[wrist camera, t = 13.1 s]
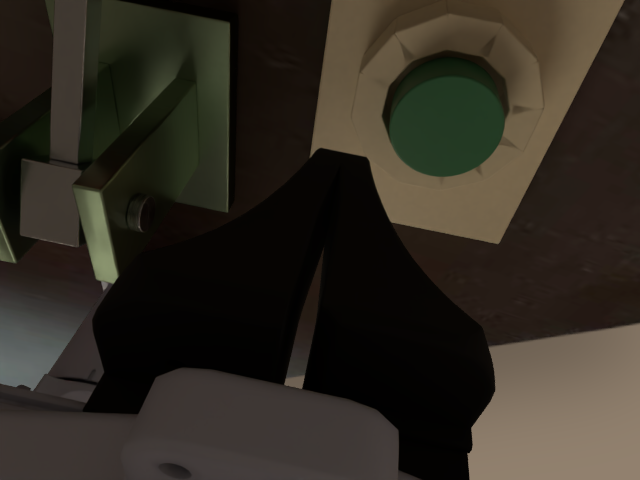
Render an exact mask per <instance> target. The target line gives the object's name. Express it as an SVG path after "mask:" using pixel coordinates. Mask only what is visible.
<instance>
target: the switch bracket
mask: <svg viewBox="0 0 640 480" xmlns="http://www.w3.org/2000/svg"><path fill="white" fill-rule="evenodd" d="M45 4H46V9H47V13H48V17H49V22H50V26H51V30H52V35H53V29H54V0H45ZM237 38H238V15H237V14H234V13H229V12H224V11H219V10H213V9H208V8H203V7H198V6H193V5H188V4H182V3H177V2H172V1H167V0H102V10H101V27H100V44H99V61H98V78H97V95H96V112H95V129H94V146H93V159H96V160H95V161H94V162H93V163H92V164H91V165H90V166H89V167H88V168H87V169H86V170H85V172H84V173H83V174H82V175H81V176H80V177H79V178H78V179H77V180H76V181H75V182H74V183H73V184H72V189H73V193H74V197H75V201H76V205H77V209H78V213H79V217H80V221H81V225H82V229H83V232H84V236H85V240H86V244H87V248H88V252H89V256H90V260H91V264H92V268H93V272H94V275H95V279H96V280H97V281H102V282H107V283H111V284H114V282H115V281H116V279H117V278H118V277H119V276H120V275H121V273H122V272H123V271H124V270H125V269H126V267H127V266H128V265H129V264H130V263H131V262H132V261H133V260H134V258H135V257H136V256H137V255H138V254H141V253H142V251H143V250H144V248H145V247H146V245H147V244H148V242H149V241H150V239H151V237H152V236H153V234H154V233H155V231H156V230H157V228H158V227H159V225H160V224H161V222H162V221H163V219H164V217H165V216H166V214H167V213H168V211H169V210H170V208H171V207H172V205H173V204H174V202H178V203H183V204H188V205H193V206H198V207H203V208H208V209H212V210H217V211H222V212H229V210H230V208H231V206H232V204H233V202H234V191H235V140H236V89H237ZM51 88H52V87H50V88H49V89H48V90H46V91H45V92H43V93H42V94H41V95H39V96H38V97H36V98H35V99H33V100H32V101H31V102H29V103H28V104H26V105H25V106H24V107H22V108H21V109H19V110H18V111H17V112H15V113H14V114H12V115H11V116H9V117H8V118H7V119H5V120H4V121H2V122H1V123H0V260H2V261H7V262H11V263H18V262H19V260H20V259H21V258H22V257H23V256H24V255H25V254H26V253H27V252H28V251H29V250H30V249H31V247H32V246H33V245H34V244H35V243H36V242H37V241H38V240H39V239H35V238H30V237H26V236H21V235H20V177H21V159H22V158H27V157H34V156H41V155H48V154H49V148H50V118H51Z"/></svg>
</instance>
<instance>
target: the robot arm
mask: <svg viewBox="0 0 640 480" xmlns="http://www.w3.org/2000/svg"><path fill="white" fill-rule="evenodd" d="M323 248H324V254H323V264H322V273H321V283H320V293H319V302H318V312H317V318H316V325H315V330H314V335H313V340H312V344H311V349H310V354H309V359H308V364H307V368H306V373H305V378H304V383H303V388H302V389H299V388H295V387H290V386H285V385H284V383H285V379H286V374H287V370H288V366H289V361H290V357H291V353H292V348H293V344H294V340H295V336H296V331H297V327H298V323H299V319H300V316H301V312H302V309H303V306H304V303H305V300H306V297H307V294H308V291H309V288H310V286H311V283H312V280H313V277H314V274H315V271H316V268H317V265H318V262H319V259H320V257H321V254H322V251H323ZM101 283H102V287H103V291H104V292H103V293H102V295H101V296H100V298H99V299H98V301H97V302H96V304H95V305H94V307H93V308H92V309H91V311H90V312H89V314H88V315H87V317H86V318H85V320H84V321H83V323H82V324H81V326H80V327H79V329H78V330H77V332H76V333H75V335H74V336H73V337H72V339H71V340H70V342H69V343H68V345H67V346H66V348H65V349H64V351H63V352H62V354H61V355H60V357H59V358H58V360H57V361H56V363H55V364H54V365H53V367H52V368H51V370H50V371H49V373H48V374H45V375H44V376H43V378H42V379H41V381H40V382H39V383H38V385H37V386H36V388H35V389H34V391H30V389H31V388H29V387H27V386H24V385H19V386H17V387H12V386H8V385H3V384H0V480H469V468H468V455H467V453H470V451H471V450H472V445H473V444H472V432H471V427H472V426H473V425H474V423H475V422H476V420H477V419H478V418H479V416H480V415H481V414H482V412H483V411H484V409H485V408H486V407H487V405H488V404H489V402H490V401H491V399H492V396H493V394H494V392H495V376H494V368H493V363H492V358H491V355H490V351H489V348H488V344H487V341H486V338H485V334H484V331H483V328H482V327H481V326H480V325H479V324H478V323H477V322H476V321H474V320H473V319H472V318H471V317H470V316H468V315H467V314H466V313H465V312H464V311H462V310H461V309H460V308H459V307H458V306H457V305H455V304H454V303H453V302H452V301H451V300H450V299H449V298H448V297H447V296H446V295H445V294H444V293H443V292H442V291H441V290H440V289H439V288H438V287H437V286H436V285H435V284H434V283H433V282H432V281H431V280H430V279H429V278H428V276H427V275H426V274H425V273H424V272H423V270H422V269H421V268H420V267H419V265H418V264H417V263H416V262H415V261H414V259H413V258H412V256H411V255H410V254H409V252H408V251H407V249H406V248H405V246H404V245H403V243H402V241H401V240H400V238H399V236H398V235H397V233H396V231H395V229H394V227H393V225H392V223H391V221H390V219H389V218H388V215H387V213H386V211H385V209H384V207H383V204H382V202H381V199H380V197H379V194H378V191H377V188H376V185H375V182H374V179H373V175H372V171H371V166H370V161H369V160H368V158H367V157H364V156H359V155H354V154H349V153H344V152H340V151H335V150H330V149H325V148H319V149H317V150H316V151H315V152H314V154H313V155H312V156H311V157H310V159H309V160H308V161H307V162H306V163H305V164H304V165H303V166H302V167H301V169H300V170H299V171H298V172H297V173H296V174H294V175H293V176H292V177H291V178H290V179H289V180H288V181H287V182H286V183H285V184H284V185H283V186H281V187H280V188H279V189H278V190H277V191H275V192H274V193H273V194H272V195H270V196H269V197H268V198H267V199H265V200H264V201H263V202H261V203H260V204H258V205H257V206H255V207H254V208H252V209H251V210H249V211H248V212H246V213H245V214H243V215H241V216H240V217H238V218H236V219H234V220H232V221H230V222H229V223H227V224H225V225H223V226H221V227H219V228H217V229H214V230H212V231H210V232H207V233H205V234H202V235H200V236H197V237H195V238H192V239H189V240H186V241H183V242H180V243H177V244H174V245H170V246H167V247H163V248H160V249H156V250H152V251H149V252H145V253H141V254H138V255H137V256H136V257H135V258H134V260H133V261H132V262H131V263H130V264H129V265H128V266H127V267H126V269H125V270H124V271H123V272H122V273H121V275H120V276H119V277H118V278H117V279H116V281H115V282H114V284H111V283H107V282H102V281H101Z"/></svg>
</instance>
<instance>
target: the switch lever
mask: <svg viewBox="0 0 640 480" xmlns="http://www.w3.org/2000/svg"><path fill="white" fill-rule="evenodd" d="M101 10H102V0H54V29H53V59H52V88H51V118H50V148H49V154H48V155H41V156H34V157H27V158H22V159H21V177H20V235H21V236H26V237H30V238H35V239H40V240H45V241H50V242H54V243H59V244H64V245H69V246H73V247H80V246H82V245H84V244H86V240H85V236H84V232H83V229H82V225H81V221H80V217H79V213H78V209H77V205H76V201H75V197H74V193H73V189H72V184H73V183H74V182H75V181H76V180H77V179H78V178H79V177H80V176H81V175H82V174H83V173H84V172H85V170H86V169H87V168H88V167H89V166H90V165H91V164H92V163H93V162H94V161H95V160H96V159H93V146H94V129H95V112H96V95H97V78H98V61H99V44H100V27H101Z"/></svg>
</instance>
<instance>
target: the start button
mask: <svg viewBox="0 0 640 480" xmlns="http://www.w3.org/2000/svg"><path fill="white" fill-rule="evenodd" d="M504 127H505V115H504V110H503V106H502V103H501V100H500V96H499V93H498V90H497V87H496V84H495V82H494V80H493V79H492V77H491V76H490V75H489V74H488V72H487V71H486V70H485V69H483V68H482V67H481V66H479V65H478V64H476V63H474V62H472V61H469V60H466V59H463V58H457V57H443V58H437V59H433V60H430V61H427V62H425V63H423V64H421V65H419V66H417V67H416V68H415V69H413V70H412V71H411V72H409V73H408V74H407V75H406V76H405V77H404V79H403V80H402V81H401V82H400V84H399V85H398V87H397V89H396V91H395V93H394V96H393V99H392V105H391V114H390V124H389V134H390V140H391V144H392V146H393V149H394V151H395V152H396V154H397V156H398V157H399V158H400V159H401V160H402V161H403V162H404V163H405V164H406V165H407V166H409V167H410V168H411V169H413V170H415V171H417V172H419V173H422V174H425V175H429V176H435V177H449V176H455V175H460V174H463V173H466V172H468V171H471V170H473V169H474V168H476V167H478V166H479V165H481V164H482V163H483V162H485V161H486V160H487V159H488V158H489V157H490V156H491V155H492V154H493V152H494V151H495V149H496V148H497V147H498V145H499V143H500V141H501V138H502V136H503V132H504Z"/></svg>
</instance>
